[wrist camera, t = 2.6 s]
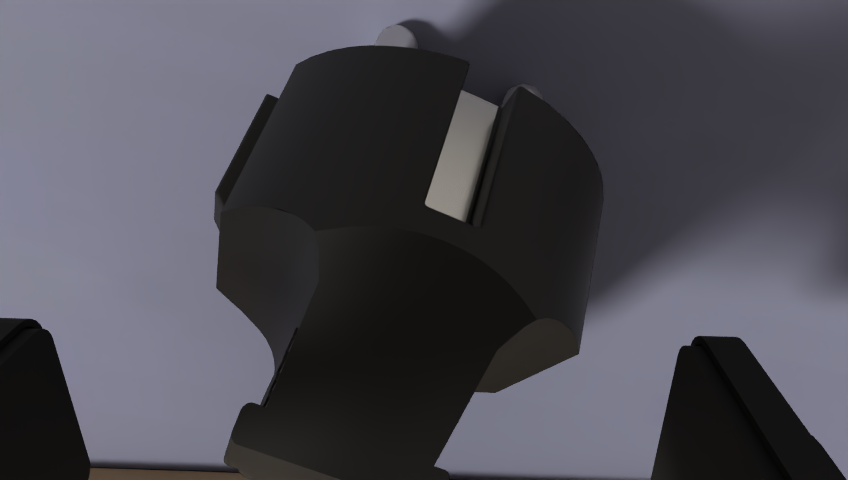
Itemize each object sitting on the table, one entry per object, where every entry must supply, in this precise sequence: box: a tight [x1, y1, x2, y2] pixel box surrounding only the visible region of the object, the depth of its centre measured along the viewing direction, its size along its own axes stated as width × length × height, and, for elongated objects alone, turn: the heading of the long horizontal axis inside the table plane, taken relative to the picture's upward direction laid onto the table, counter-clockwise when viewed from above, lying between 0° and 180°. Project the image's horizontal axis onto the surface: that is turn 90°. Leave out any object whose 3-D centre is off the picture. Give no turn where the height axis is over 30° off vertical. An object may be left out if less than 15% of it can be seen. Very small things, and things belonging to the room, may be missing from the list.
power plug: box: [214, 25, 603, 480], centre depth 13 cm, size 6×8×12 cm
